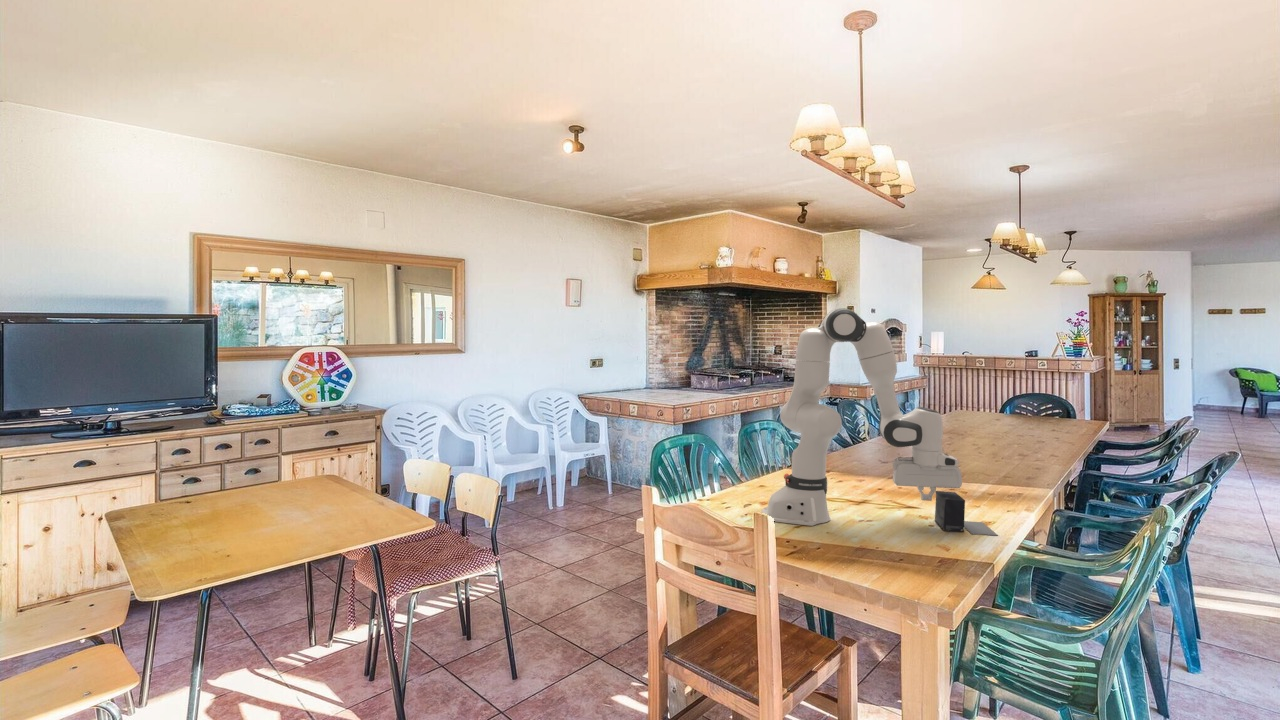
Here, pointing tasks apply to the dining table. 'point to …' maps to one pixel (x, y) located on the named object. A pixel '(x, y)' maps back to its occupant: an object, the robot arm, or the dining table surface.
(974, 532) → the mat
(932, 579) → the dining table surface
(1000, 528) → the dining table surface
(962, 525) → the small box
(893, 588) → the dining table surface
